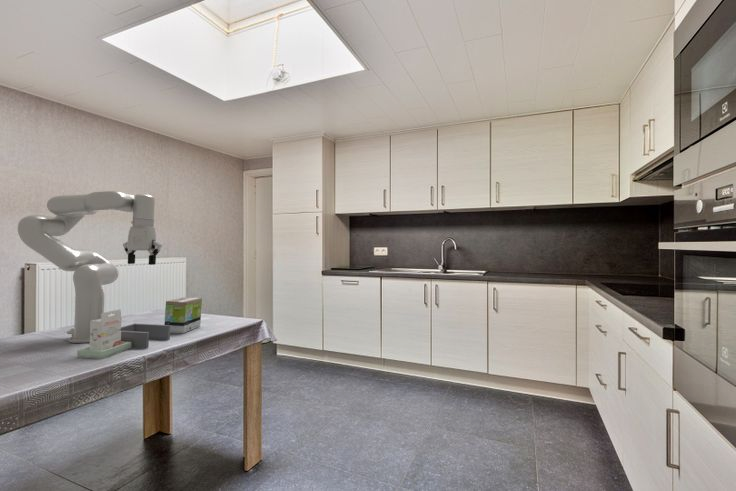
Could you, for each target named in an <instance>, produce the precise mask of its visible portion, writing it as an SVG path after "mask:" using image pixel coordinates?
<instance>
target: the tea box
mask: <svg viewBox="0 0 736 491" xmlns="http://www.w3.org/2000/svg"><path fill="white" fill-rule="evenodd" d="M202 301H203V299H202V298H201V297H186V296H185V297H180V298H174V299H171V300H170V299H169V300H166V301H165V309H164V310H165V312H164V322H163V323H164V324H163V325H170V334H185V333H188V332H189V331H192V330H194V329H197V328H200V327H201V320H202V303H203V302H202Z"/></svg>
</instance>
